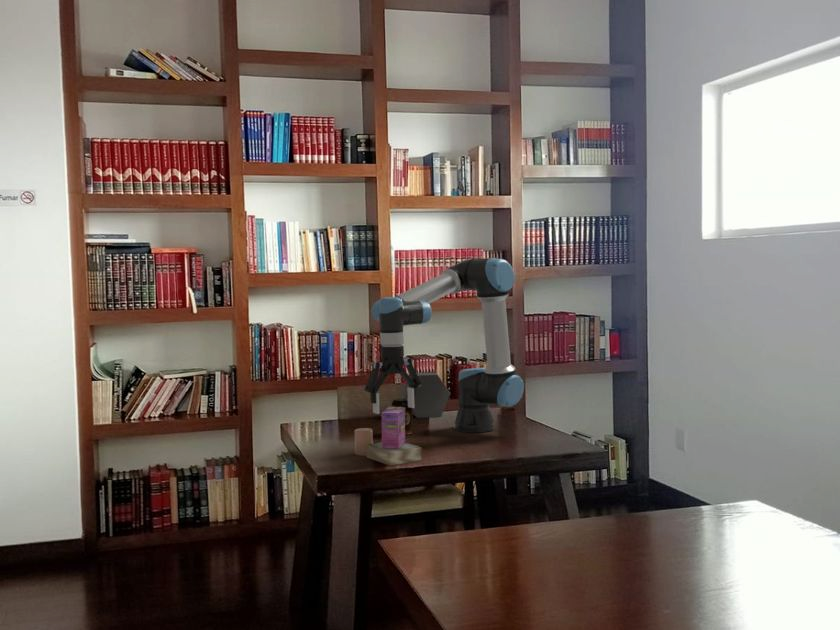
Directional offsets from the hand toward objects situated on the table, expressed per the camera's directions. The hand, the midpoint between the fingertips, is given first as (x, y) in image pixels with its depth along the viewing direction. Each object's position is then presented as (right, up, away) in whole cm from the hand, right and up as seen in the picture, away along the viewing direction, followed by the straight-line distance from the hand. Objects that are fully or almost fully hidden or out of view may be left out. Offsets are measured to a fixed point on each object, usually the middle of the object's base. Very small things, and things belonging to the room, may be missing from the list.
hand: (394, 410), depth 267 cm
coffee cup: (+2, -13, +39) cm, 41 cm away
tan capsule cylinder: (-10, -15, +8) cm, 20 cm away
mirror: (0, -16, +1) cm, 16 cm away
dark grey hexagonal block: (+11, -11, +73) cm, 75 cm away
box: (0, -12, +1) cm, 12 cm away
